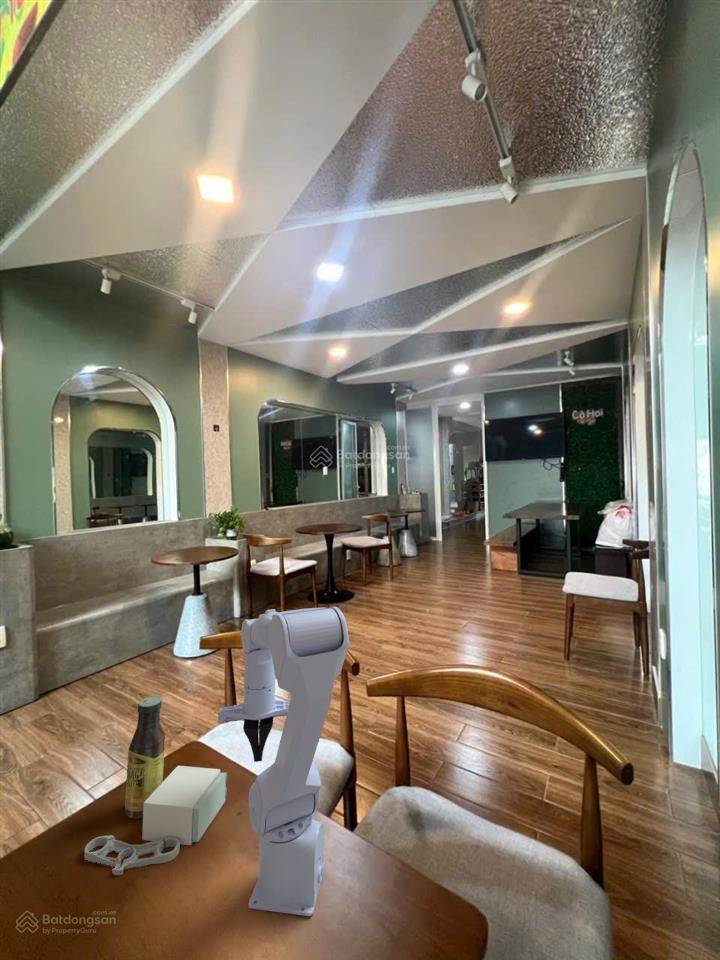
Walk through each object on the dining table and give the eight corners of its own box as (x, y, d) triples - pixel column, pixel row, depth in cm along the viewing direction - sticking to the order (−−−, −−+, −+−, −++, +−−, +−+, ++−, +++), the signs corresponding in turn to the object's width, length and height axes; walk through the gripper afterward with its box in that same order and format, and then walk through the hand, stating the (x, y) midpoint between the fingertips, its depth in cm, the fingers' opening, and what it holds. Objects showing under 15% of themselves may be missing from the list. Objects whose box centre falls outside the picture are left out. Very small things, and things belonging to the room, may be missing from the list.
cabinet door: (227, 798, 76) (228, 770, 76) (198, 842, 66) (199, 809, 66) (222, 797, 76) (222, 769, 77) (191, 841, 66) (192, 808, 66)
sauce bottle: (117, 812, 73) (122, 702, 75) (150, 792, 78) (154, 690, 80) (136, 827, 69) (141, 711, 71) (169, 805, 75) (173, 698, 76)
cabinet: (219, 801, 75) (220, 769, 76) (190, 845, 66) (191, 807, 66) (176, 797, 77) (177, 765, 77) (142, 839, 67) (143, 802, 67)
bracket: (117, 818, 70) (184, 837, 65) (117, 829, 70) (184, 850, 65) (75, 852, 63) (147, 878, 58) (75, 865, 63) (146, 892, 58)
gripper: (298, 671, 79) (297, 741, 78) (223, 676, 76) (221, 749, 75) (298, 687, 72) (297, 764, 71) (216, 693, 69) (214, 773, 68)
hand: (258, 758), depth 72 cm, fingers closed
